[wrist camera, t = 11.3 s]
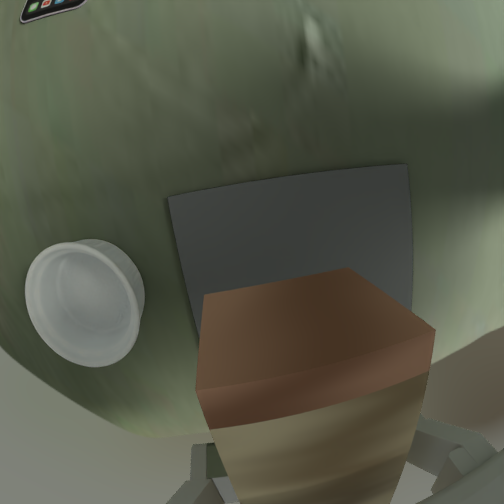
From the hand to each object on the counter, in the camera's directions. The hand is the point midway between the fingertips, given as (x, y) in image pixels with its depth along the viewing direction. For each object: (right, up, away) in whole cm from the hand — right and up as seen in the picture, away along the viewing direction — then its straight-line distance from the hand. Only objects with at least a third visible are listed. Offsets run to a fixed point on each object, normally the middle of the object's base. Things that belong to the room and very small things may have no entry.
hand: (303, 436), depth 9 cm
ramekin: (-14, +4, +12) cm, 19 cm away
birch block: (+1, -7, +1) cm, 7 cm away
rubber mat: (+3, +4, +14) cm, 15 cm away
